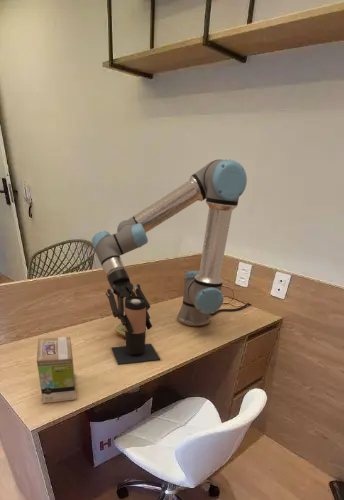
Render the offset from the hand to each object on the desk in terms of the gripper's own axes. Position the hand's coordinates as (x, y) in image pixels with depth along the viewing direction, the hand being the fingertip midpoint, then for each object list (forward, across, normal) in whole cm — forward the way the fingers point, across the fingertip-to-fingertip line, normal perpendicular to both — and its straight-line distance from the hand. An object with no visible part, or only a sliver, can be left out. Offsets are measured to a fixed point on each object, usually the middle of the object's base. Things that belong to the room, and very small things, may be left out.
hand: (140, 330), depth 122 cm
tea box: (+10, +33, -6) cm, 35 cm away
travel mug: (+4, 0, -9) cm, 10 cm away
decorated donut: (-6, -7, -22) cm, 24 cm away
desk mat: (+6, 0, -10) cm, 12 cm away
